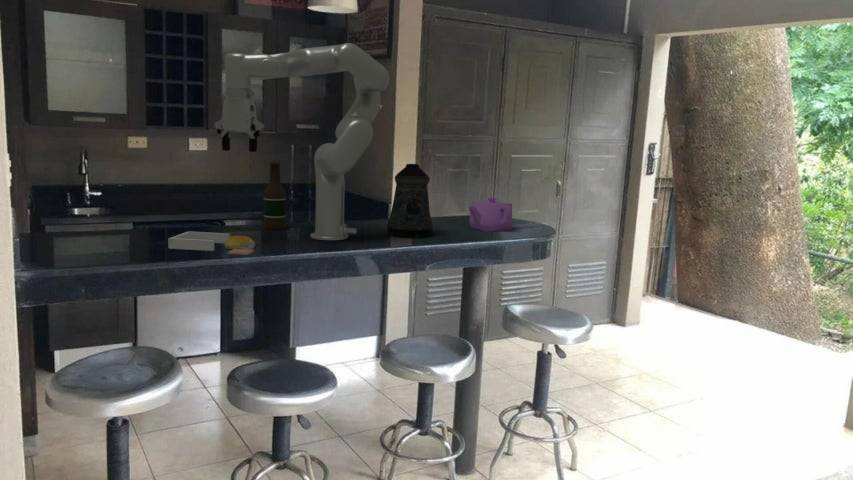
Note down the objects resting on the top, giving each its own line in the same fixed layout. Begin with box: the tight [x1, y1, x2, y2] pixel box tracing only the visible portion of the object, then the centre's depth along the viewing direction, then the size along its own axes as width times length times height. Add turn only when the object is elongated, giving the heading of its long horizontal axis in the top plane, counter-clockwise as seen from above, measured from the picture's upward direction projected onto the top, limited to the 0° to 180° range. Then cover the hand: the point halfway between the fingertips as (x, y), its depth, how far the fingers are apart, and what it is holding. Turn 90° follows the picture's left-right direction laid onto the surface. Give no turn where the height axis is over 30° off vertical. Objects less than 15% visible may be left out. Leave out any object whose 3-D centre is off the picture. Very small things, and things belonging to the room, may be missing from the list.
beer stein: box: [386, 163, 434, 239], centre depth 249 cm, size 16×19×25 cm
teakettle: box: [468, 196, 513, 233], centre depth 272 cm, size 17×17×12 cm
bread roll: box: [224, 235, 256, 250], centre depth 212 cm, size 8×9×4 cm
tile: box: [226, 249, 255, 256], centre depth 204 cm, size 6×6×1 cm
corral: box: [167, 231, 231, 252], centre depth 213 cm, size 14×14×3 cm
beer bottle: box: [263, 160, 287, 231], centre depth 250 cm, size 8×8×24 cm
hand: (239, 151), depth 218 cm, fingers open, 9 cm apart
